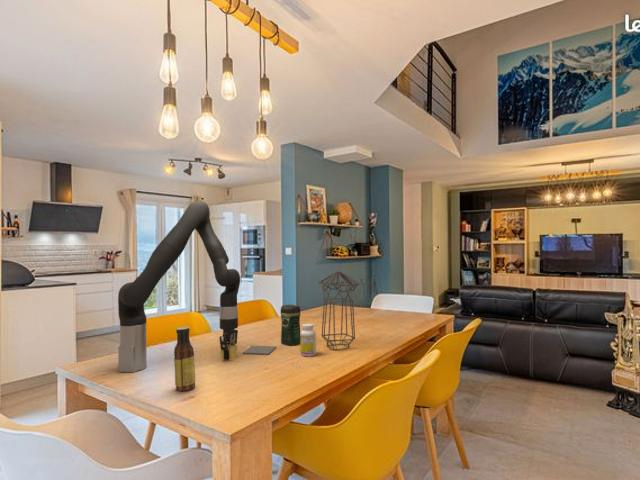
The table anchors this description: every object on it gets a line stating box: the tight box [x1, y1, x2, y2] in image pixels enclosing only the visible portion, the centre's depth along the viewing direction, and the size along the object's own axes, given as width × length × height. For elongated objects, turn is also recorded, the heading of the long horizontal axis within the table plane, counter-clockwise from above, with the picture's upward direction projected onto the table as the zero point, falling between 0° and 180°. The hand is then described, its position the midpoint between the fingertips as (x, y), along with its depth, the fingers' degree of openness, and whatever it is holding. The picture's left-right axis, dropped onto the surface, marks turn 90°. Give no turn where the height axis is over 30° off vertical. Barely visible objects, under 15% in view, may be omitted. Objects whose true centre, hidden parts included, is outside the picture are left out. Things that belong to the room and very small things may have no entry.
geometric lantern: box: [317, 270, 360, 351], centre depth 172 cm, size 16×16×35 cm
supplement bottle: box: [299, 323, 317, 358], centre depth 160 cm, size 7×7×13 cm
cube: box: [220, 344, 238, 362], centre depth 156 cm, size 5×5×5 cm
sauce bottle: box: [173, 326, 196, 392], centre depth 123 cm, size 7×6×20 cm
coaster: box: [241, 345, 277, 356], centre depth 167 cm, size 12×12×1 cm
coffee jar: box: [280, 304, 302, 346], centre depth 180 cm, size 10×8×19 cm
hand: (229, 357), depth 156 cm, fingers closed on cube, 5 cm apart
